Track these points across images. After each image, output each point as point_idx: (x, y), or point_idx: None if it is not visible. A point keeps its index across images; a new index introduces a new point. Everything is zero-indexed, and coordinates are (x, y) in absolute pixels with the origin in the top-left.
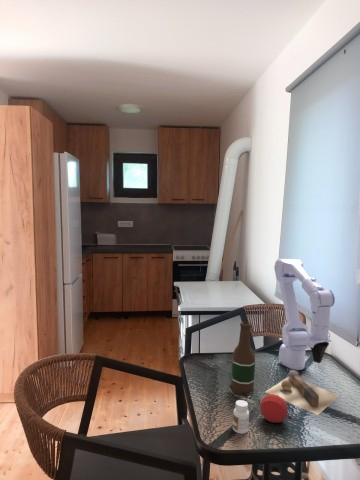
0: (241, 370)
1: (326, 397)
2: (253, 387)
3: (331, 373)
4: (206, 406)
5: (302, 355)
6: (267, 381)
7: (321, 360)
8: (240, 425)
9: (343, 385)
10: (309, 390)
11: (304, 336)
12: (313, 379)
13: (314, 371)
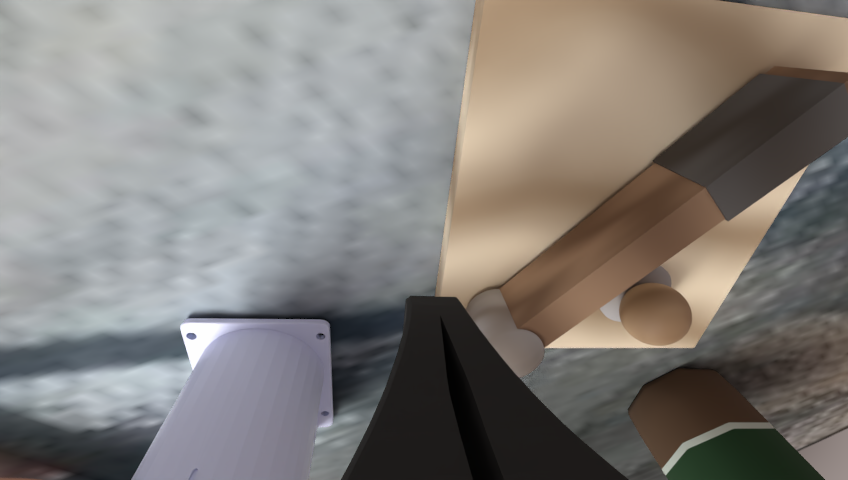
0: None
1: (593, 60)
2: (702, 392)
3: (55, 185)
4: (833, 409)
5: (239, 440)
6: (522, 380)
7: (415, 309)
8: None
9: (173, 24)
10: (770, 174)
11: None
12: (298, 243)
13: (168, 282)
